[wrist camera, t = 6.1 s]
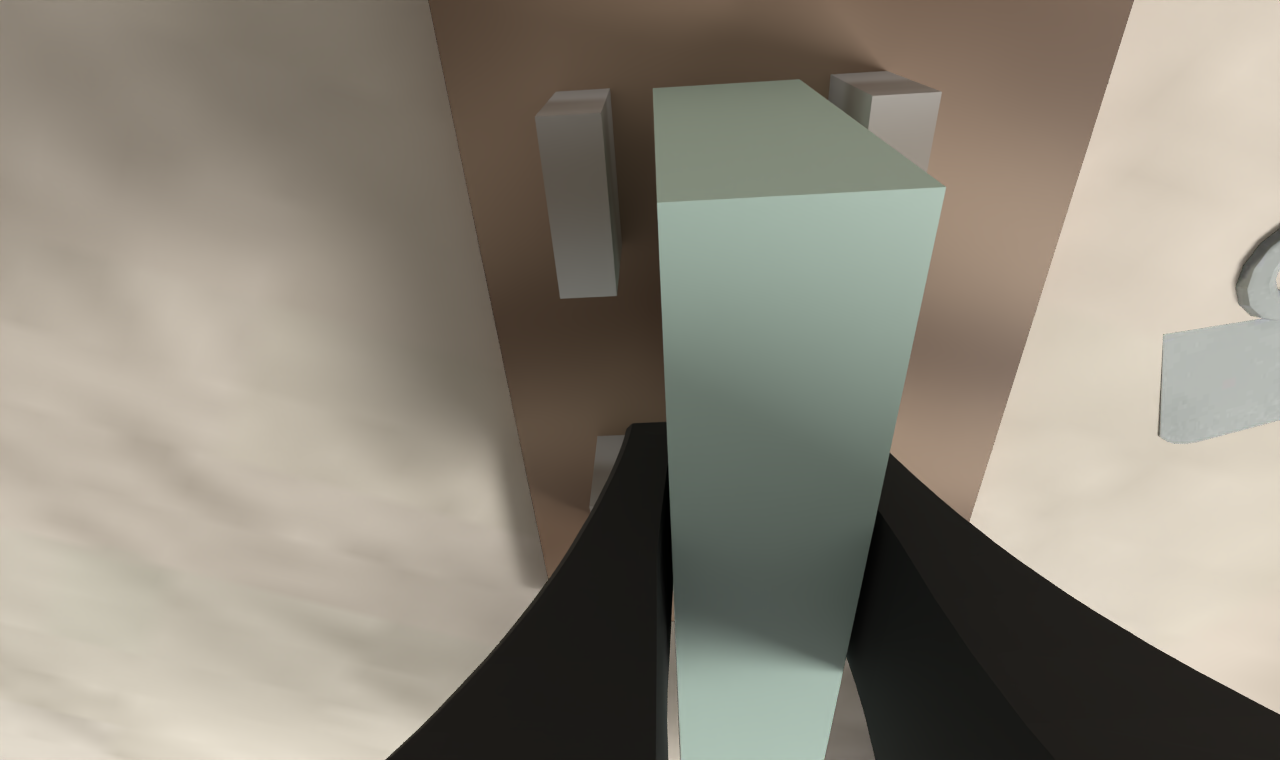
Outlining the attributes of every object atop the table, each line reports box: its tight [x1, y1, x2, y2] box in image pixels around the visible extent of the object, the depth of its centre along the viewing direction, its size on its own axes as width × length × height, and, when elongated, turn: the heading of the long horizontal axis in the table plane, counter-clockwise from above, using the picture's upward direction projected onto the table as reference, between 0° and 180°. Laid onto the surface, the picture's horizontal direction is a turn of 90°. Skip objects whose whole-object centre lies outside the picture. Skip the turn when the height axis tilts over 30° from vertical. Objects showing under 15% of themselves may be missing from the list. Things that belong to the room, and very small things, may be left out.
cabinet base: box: [428, 0, 1134, 621], centre depth 14 cm, size 20×12×4 cm, turn 3°
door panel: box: [653, 79, 946, 760], centre depth 11 cm, size 12×2×6 cm, turn 3°
